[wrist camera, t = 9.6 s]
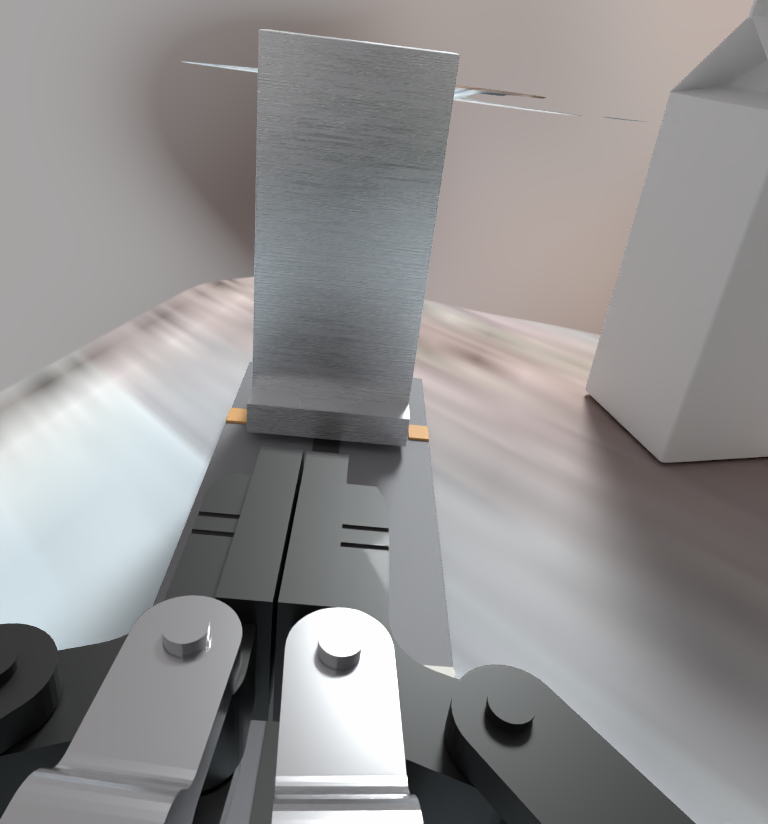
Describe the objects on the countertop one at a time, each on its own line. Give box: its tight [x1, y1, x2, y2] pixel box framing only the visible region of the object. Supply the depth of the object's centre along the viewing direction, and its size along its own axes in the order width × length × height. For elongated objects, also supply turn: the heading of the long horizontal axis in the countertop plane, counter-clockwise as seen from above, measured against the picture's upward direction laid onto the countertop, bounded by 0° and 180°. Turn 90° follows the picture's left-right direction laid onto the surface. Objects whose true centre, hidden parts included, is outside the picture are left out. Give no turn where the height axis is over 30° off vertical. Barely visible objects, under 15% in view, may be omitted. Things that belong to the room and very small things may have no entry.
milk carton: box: [586, 0, 768, 463], centre depth 31 cm, size 7×7×19 cm
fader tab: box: [246, 29, 460, 447], centre depth 24 cm, size 4×6×13 cm, turn 90°
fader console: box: [153, 362, 455, 824], centre depth 23 cm, size 22×8×2 cm, turn 0°
